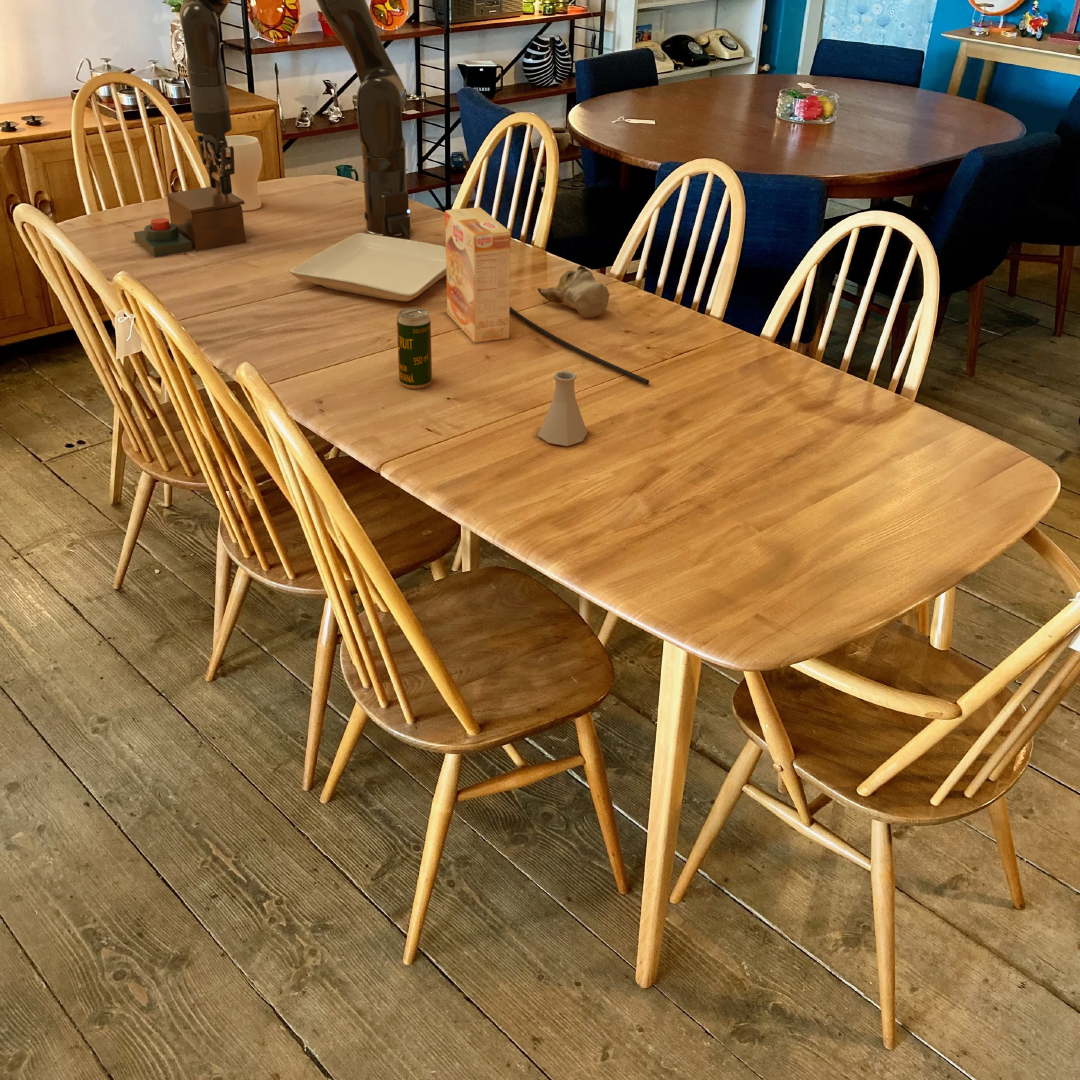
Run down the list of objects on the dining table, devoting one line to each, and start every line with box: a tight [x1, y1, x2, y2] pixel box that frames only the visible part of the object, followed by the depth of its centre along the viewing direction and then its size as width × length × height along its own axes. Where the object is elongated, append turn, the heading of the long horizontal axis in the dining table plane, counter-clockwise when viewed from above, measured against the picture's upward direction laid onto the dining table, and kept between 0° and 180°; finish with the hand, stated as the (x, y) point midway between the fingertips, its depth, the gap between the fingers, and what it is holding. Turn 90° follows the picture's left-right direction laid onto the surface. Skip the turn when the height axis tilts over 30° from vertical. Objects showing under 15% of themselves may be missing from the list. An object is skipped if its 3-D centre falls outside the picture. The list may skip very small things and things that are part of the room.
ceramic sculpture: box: [537, 265, 610, 319], centre depth 209 cm, size 11×9×15 cm
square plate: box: [289, 232, 447, 302], centre depth 221 cm, size 27×27×4 cm
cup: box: [219, 134, 264, 212], centre depth 255 cm, size 11×11×15 cm
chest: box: [166, 196, 247, 252], centre depth 237 cm, size 11×14×8 cm
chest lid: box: [166, 171, 245, 214], centre depth 234 cm, size 12×14×5 cm
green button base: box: [133, 222, 194, 258], centre depth 233 cm, size 12×8×4 cm, turn 36°
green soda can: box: [396, 307, 433, 390], centre depth 178 cm, size 5×5×12 cm
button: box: [150, 217, 170, 230], centre depth 232 cm, size 4×4×2 cm
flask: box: [537, 370, 588, 447], centre depth 164 cm, size 7×7×10 cm
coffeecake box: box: [444, 207, 512, 344], centre depth 197 cm, size 15×7×20 cm, turn 23°
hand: (221, 190), depth 236 cm, fingers closed on chest lid, 5 cm apart
